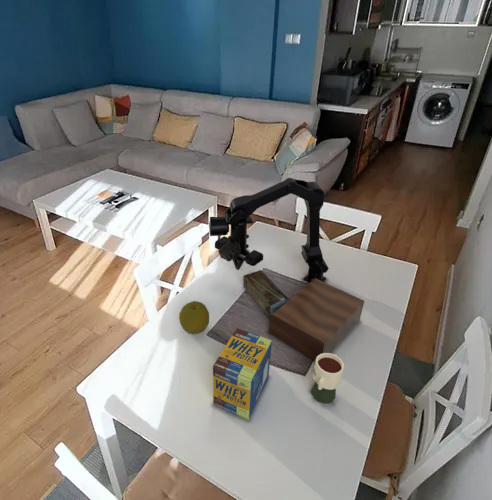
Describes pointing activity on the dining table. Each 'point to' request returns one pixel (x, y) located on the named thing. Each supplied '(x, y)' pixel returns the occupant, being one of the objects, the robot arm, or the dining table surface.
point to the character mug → (327, 377)
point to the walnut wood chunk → (316, 318)
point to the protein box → (241, 372)
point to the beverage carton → (264, 292)
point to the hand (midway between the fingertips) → (237, 269)
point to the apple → (194, 317)
